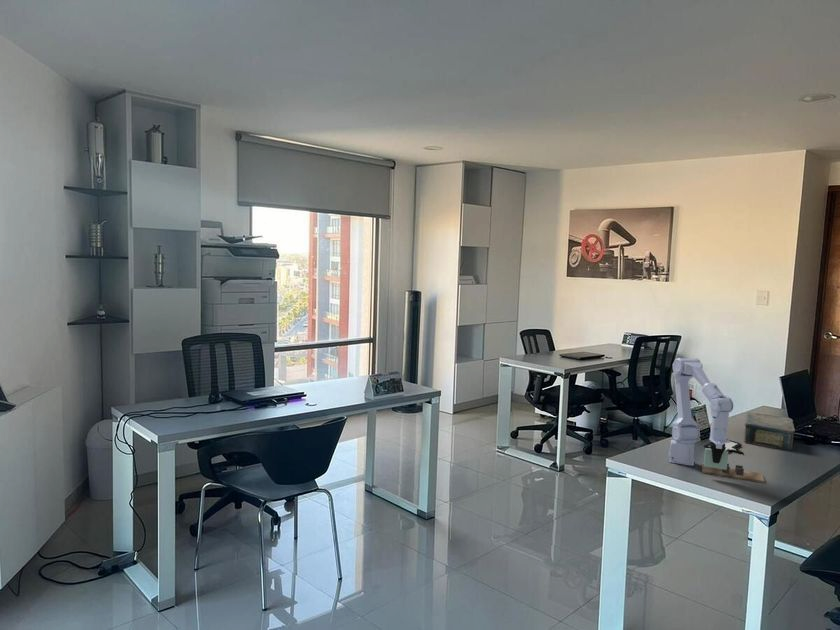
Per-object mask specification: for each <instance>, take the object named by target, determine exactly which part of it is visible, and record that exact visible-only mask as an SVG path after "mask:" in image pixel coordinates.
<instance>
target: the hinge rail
mask: <svg viewBox="0 0 840 630" xmlns="http://www.w3.org/2000/svg"><path fill="white" fill-rule="evenodd" d="M700 466H701V471H702V472H701V473H702V474H706V473H707V475H713V476H721V477H725V478H731V477H732V479H737V478H738V480H743V479H744V481H749V480H750V482H755V481H757V482H756V483H763V484H765V483H766V480H765V478H764V476H763V474H762V473H761V472H754V471H750V470H749V471H748V470H745V469H744V468H743V467H744V466H743V465H739V464H735V468H731V466H730V463H727V470H724V469H718V468H712V467H705V466H704V463H701V465H700Z"/></svg>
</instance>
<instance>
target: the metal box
mask: <svg viewBox="0 0 840 630" xmlns="http://www.w3.org/2000/svg"><path fill="white" fill-rule="evenodd" d="M743 424H744V426H745V427H744V436H743V438H744V439H743V440H744V441H743V442H744V443H745V444H752V445H755V446H762V447H768V448H773V447H774V449H779V448H780V450H787V451H792V449H793V442H794V436H795V435H794V434H795V432H796V429H795V425H794V420H793V419H792V418H790V417H788V416H787V417H786V416H779V415H773V414H771V415H770V414H765V413H757V412H756V413H755V412H750V411H749V412H748V411H747V412H746V415H745V421H744V423H743Z"/></svg>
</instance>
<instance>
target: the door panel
mask: <svg viewBox="0 0 840 630" xmlns="http://www.w3.org/2000/svg"><path fill="white" fill-rule="evenodd" d="M703 459H704V461H703V464H704V466H705V467H712V468H718V469H724V470H727V464H728V461H729V460H728V459H729V453H728V451H724V452H723V454H722V456H721V460H720V462H719V463H713V458H712V450H711V449H710V448H705V449H704V458H703Z"/></svg>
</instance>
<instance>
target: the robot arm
mask: <svg viewBox="0 0 840 630" xmlns="http://www.w3.org/2000/svg"><path fill="white" fill-rule="evenodd" d="M672 374H673V378H674V387H675V388H674V390H675V399H676V408H677V410H676V411H677V419H676V420H675V421H673V423H672V430H671V436H672V438H673V439H671V440H670V445H669V446H670V447H669V452H668V458H669V460H668V463H673V464H679V465H684V466H691V467H694V466H695V462H694V451H695V444H696V443H697V441H698V440H699V439H700V436H701V432H700V429H699V426H698V422H697V421H695V420H694V419H693V418H692V417H693V415H692V408H691V406H692V405H691V397H690V395H691V394H690V385H689V381H690V380H691V379H692V378H694V379H695V380H696V381H697V382H698V384H699V385H700V386H701V387H702V388H701V392H702V393H703V394H704V396H705V397H706V398H707V400H708V401H709V408H710V414H711V424H710V425H711V426H710V434H709V442H708V443H709V444H710V447H711V450H712V458H713V463H719V462H720V460H721V456H722V454H723V452H724V451H725V449H726V447H725V443H730V441H729V440H730V439H728V440H726V439H727V438H728V435H727V434H728V427H729V419H730V418H729V417H730V413H731V412H732V411H733V410H734V402H733V400H732V398H731V397H729V396H728V397H727V395H724V394H723V392H722V391H721V390H720V388H719V387H718V385H717V384H716V383H714V382H711V381H710V380H709V378H708V376H707V375H706V373H705V372H704V369H703V363H702V362H701V360H700V359H699V358H682V357H681V358H680V357H678V358H677V357H676V359H675V360H674V361H673V363H672Z"/></svg>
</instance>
